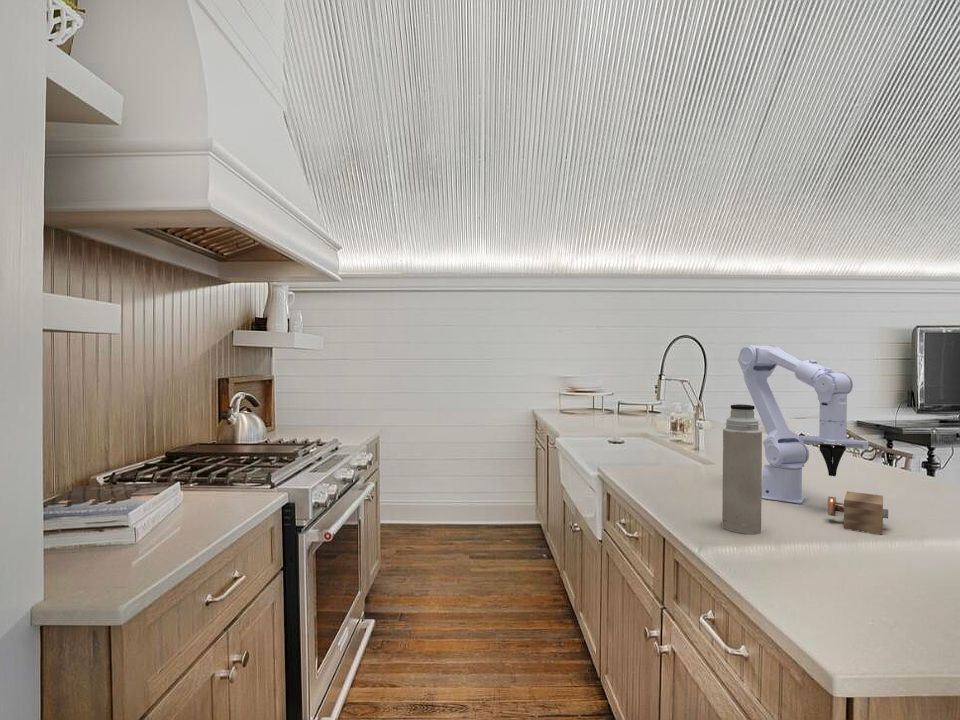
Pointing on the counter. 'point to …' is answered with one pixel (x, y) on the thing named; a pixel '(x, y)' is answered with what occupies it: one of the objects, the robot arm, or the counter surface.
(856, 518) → the bearing block
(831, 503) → the copper capped shaft
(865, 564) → the counter surface
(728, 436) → the thermos bottle
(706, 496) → the counter surface
